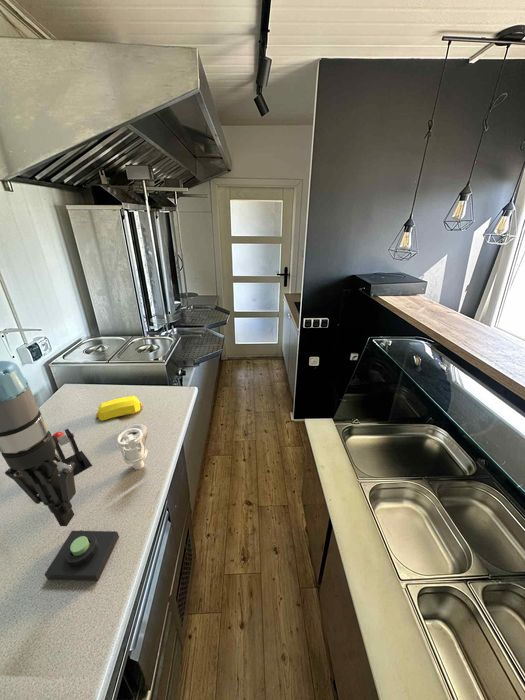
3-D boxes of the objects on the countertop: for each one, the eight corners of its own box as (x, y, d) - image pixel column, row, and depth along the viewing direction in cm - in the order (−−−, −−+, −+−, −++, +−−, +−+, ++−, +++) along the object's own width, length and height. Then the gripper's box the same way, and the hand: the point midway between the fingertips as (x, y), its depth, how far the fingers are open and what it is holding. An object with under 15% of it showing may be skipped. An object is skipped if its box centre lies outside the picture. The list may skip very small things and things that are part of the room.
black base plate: (47, 579, 66) (41, 570, 64) (74, 535, 75) (69, 526, 73) (98, 581, 65) (93, 571, 64) (119, 536, 74) (115, 526, 73)
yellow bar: (97, 414, 120) (96, 425, 114) (93, 401, 117) (91, 411, 111) (143, 403, 127) (144, 413, 120) (139, 390, 124) (140, 399, 117)
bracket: (56, 466, 96) (41, 435, 90) (82, 452, 101) (70, 422, 95) (66, 483, 89) (51, 450, 83) (93, 467, 95) (80, 436, 89)
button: (69, 556, 67) (66, 551, 66) (78, 540, 70) (76, 535, 69) (83, 556, 67) (81, 552, 66) (92, 540, 70) (90, 536, 69)
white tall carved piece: (131, 480, 90) (119, 444, 83) (125, 466, 95) (114, 431, 88) (153, 469, 94) (144, 434, 87) (147, 456, 99) (137, 422, 92)
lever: (54, 444, 98) (49, 434, 98) (65, 438, 101) (61, 429, 100) (59, 448, 88) (54, 438, 87) (72, 442, 90) (67, 432, 90)
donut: (132, 426, 113) (113, 444, 104) (130, 419, 111) (111, 436, 103) (153, 431, 110) (136, 449, 101) (152, 424, 109) (134, 442, 100)
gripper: (71, 426, 57) (104, 504, 67) (9, 426, 57) (51, 504, 67) (44, 455, 50) (85, 537, 60) (-27, 455, 50) (26, 537, 61)
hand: (67, 520), depth 64 cm, fingers closed
